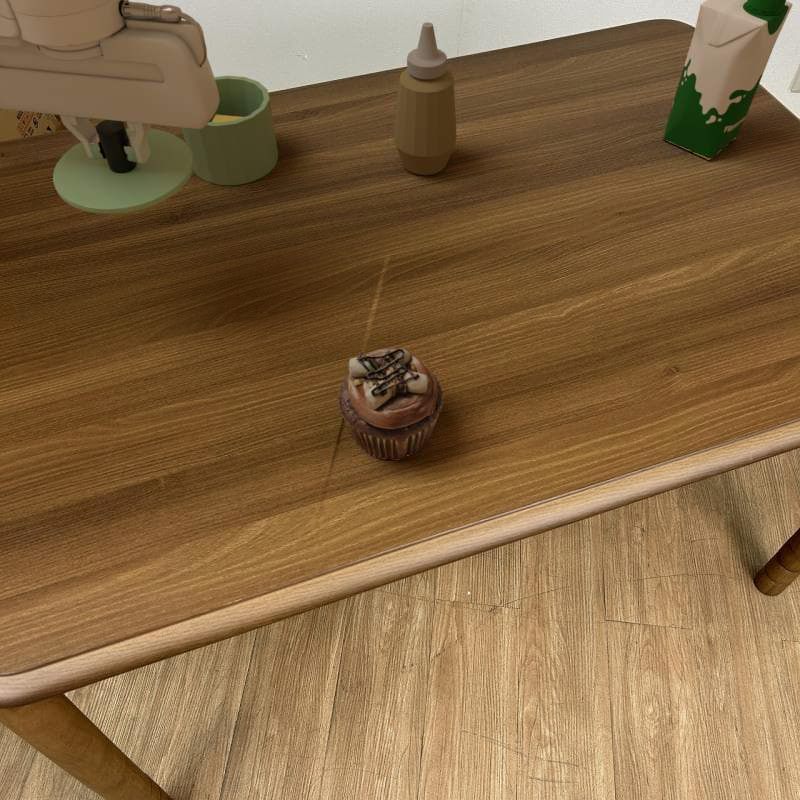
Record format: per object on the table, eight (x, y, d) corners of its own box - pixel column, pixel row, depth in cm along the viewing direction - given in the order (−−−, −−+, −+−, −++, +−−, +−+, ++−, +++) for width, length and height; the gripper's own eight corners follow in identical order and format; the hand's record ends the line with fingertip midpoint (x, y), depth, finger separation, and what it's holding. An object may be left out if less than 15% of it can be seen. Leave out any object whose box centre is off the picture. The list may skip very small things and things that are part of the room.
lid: (32, 211, 66) (8, 160, 61) (92, 132, 73) (74, 82, 69) (166, 227, 64) (150, 175, 60) (213, 145, 72) (201, 94, 68)
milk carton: (711, 167, 97) (771, 10, 81) (651, 140, 101) (697, -16, 85) (744, 139, 101) (808, -16, 85) (686, 114, 105) (736, -39, 89)
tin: (179, 181, 96) (162, 121, 89) (207, 131, 103) (193, 72, 96) (264, 189, 95) (254, 129, 88) (287, 138, 102) (279, 79, 95)
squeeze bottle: (384, 173, 97) (380, 34, 82) (407, 140, 101) (407, 3, 87) (442, 187, 95) (449, 47, 80) (463, 153, 99) (473, 15, 85)
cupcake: (461, 438, 71) (468, 370, 63) (375, 486, 67) (371, 420, 59) (406, 374, 76) (406, 303, 68) (323, 415, 72) (313, 346, 64)
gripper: (211, -11, 57) (241, 148, 68) (-36, -31, 59) (32, 126, 70) (182, 28, 53) (219, 190, 64) (-80, 5, 55) (-1, 165, 66)
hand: (120, 157), depth 67 cm, fingers closed on lid, 2 cm apart
